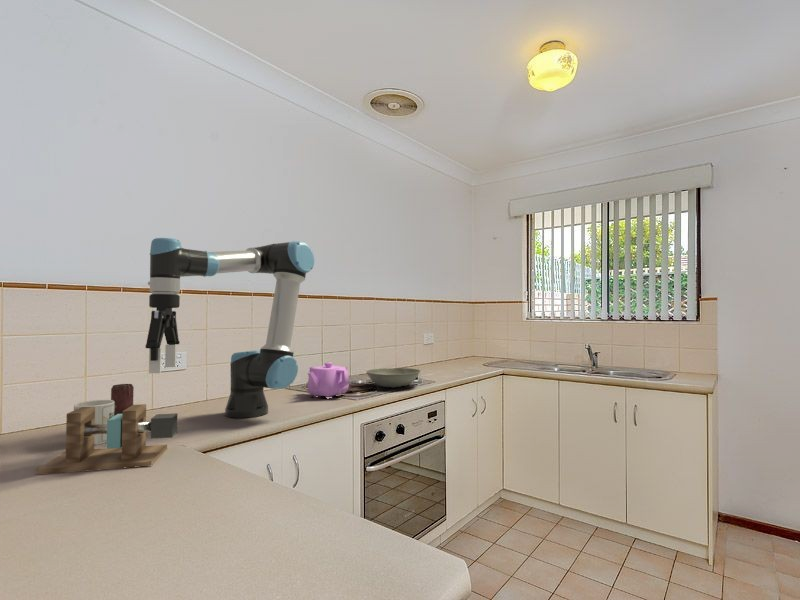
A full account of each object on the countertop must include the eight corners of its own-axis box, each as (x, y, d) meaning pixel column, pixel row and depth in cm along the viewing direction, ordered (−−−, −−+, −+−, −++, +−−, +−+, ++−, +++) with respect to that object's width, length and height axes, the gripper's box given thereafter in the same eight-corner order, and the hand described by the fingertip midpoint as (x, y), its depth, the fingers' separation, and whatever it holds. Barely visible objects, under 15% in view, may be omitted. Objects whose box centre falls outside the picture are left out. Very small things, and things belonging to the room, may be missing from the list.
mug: (123, 438, 132) (124, 401, 132) (83, 450, 121) (84, 409, 121) (98, 435, 135) (98, 398, 136) (56, 446, 124) (57, 406, 124)
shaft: (177, 432, 118) (177, 413, 118) (172, 437, 113) (172, 417, 114) (87, 437, 113) (87, 417, 114) (78, 442, 109) (78, 422, 109)
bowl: (425, 383, 235) (425, 368, 235) (412, 392, 208) (412, 375, 208) (377, 381, 242) (377, 366, 243) (358, 390, 216) (358, 372, 216)
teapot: (307, 401, 188) (308, 365, 188) (305, 393, 206) (305, 360, 206) (352, 399, 193) (353, 364, 193) (346, 391, 211) (347, 360, 211)
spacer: (130, 440, 117) (130, 413, 117) (120, 448, 110) (120, 419, 110) (117, 440, 116) (117, 413, 116) (106, 448, 109) (107, 420, 109)
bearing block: (167, 449, 122) (167, 401, 122) (151, 466, 108) (152, 412, 109) (66, 455, 116) (67, 405, 116) (36, 474, 102) (37, 417, 103)
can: (122, 431, 140) (123, 386, 140) (105, 430, 141) (106, 385, 141) (137, 426, 146) (138, 383, 146) (121, 425, 147) (122, 383, 147)
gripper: (164, 295, 136) (162, 365, 135) (133, 291, 112) (130, 376, 111) (190, 295, 138) (189, 364, 137) (165, 291, 113) (163, 375, 112)
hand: (163, 370), depth 124 cm, fingers open, 13 cm apart
